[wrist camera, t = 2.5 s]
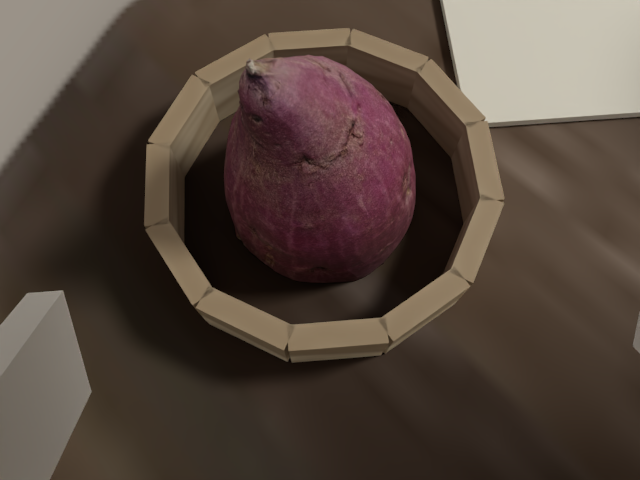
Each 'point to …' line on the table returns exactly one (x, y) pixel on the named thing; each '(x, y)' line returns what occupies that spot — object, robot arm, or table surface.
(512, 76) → the white mat
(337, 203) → the vegetable
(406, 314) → the segmented wooden ring
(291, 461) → the table surface
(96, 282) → the table surface
